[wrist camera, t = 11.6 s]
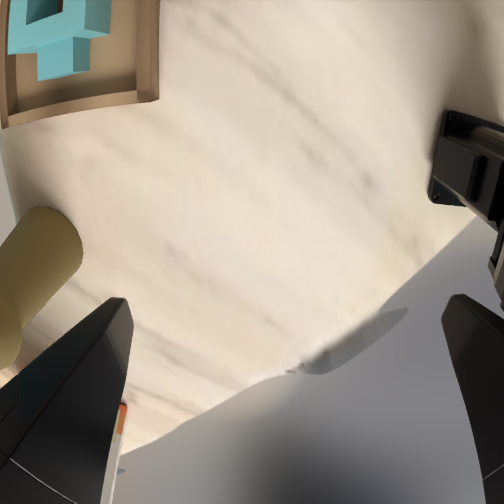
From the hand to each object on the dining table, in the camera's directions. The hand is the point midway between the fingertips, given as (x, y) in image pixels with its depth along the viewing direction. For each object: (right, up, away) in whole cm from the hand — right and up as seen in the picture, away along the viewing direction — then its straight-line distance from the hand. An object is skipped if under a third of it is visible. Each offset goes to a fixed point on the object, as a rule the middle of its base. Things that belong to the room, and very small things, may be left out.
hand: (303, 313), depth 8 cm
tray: (-11, +16, +4) cm, 20 cm away
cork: (-16, +2, +12) cm, 21 cm away
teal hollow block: (-11, +17, +3) cm, 20 cm away
